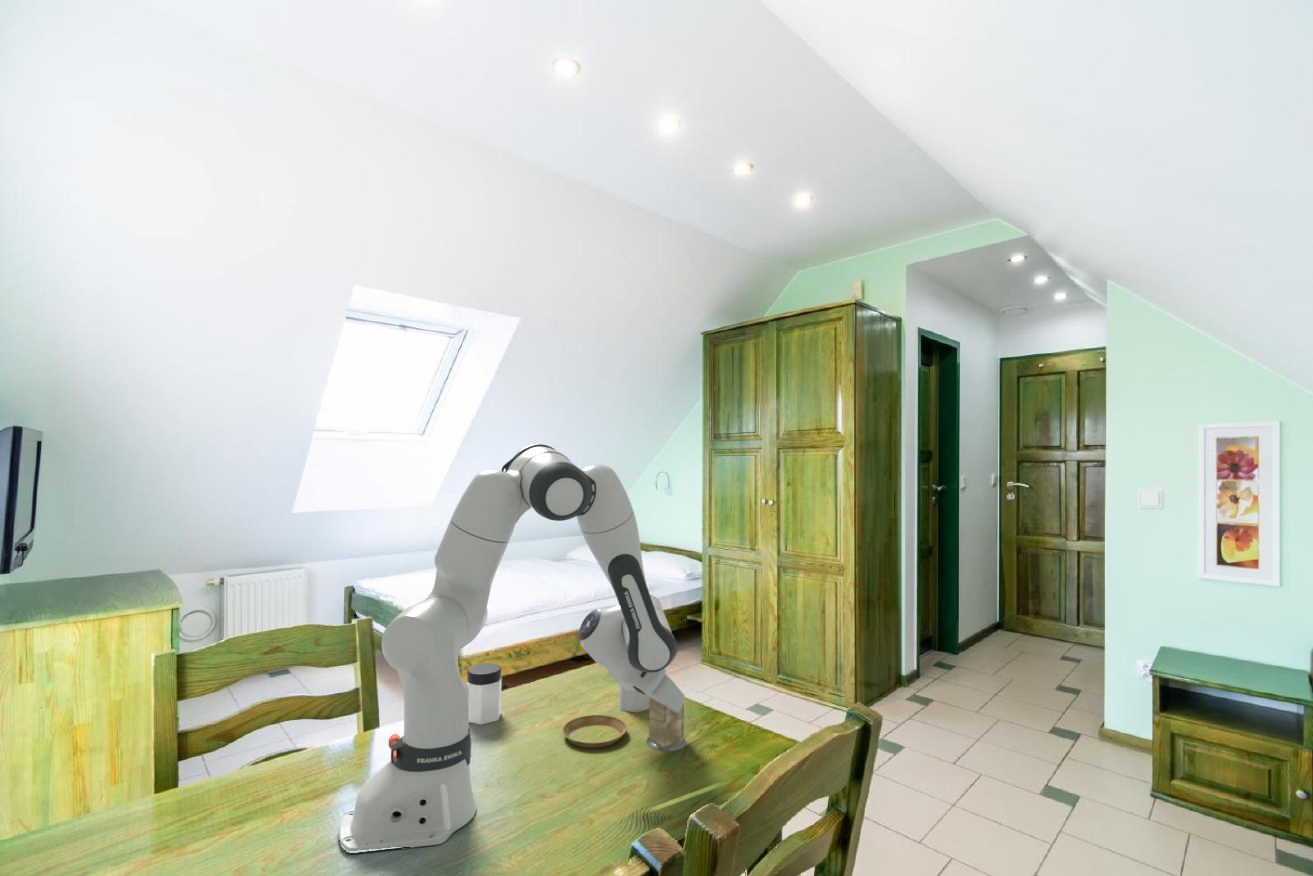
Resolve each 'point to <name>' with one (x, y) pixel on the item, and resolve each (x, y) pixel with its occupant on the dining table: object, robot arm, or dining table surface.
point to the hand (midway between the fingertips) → (668, 704)
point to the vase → (665, 725)
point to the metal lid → (667, 748)
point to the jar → (484, 693)
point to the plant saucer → (594, 720)
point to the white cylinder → (632, 700)
